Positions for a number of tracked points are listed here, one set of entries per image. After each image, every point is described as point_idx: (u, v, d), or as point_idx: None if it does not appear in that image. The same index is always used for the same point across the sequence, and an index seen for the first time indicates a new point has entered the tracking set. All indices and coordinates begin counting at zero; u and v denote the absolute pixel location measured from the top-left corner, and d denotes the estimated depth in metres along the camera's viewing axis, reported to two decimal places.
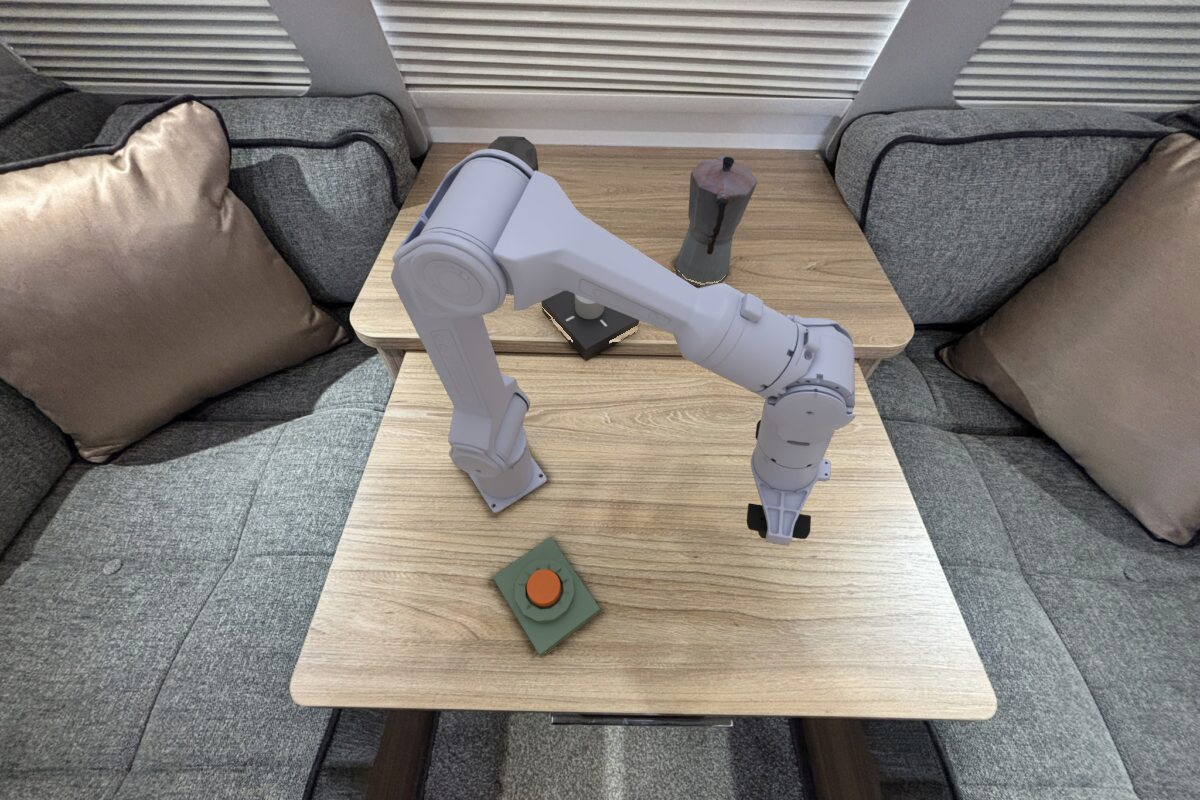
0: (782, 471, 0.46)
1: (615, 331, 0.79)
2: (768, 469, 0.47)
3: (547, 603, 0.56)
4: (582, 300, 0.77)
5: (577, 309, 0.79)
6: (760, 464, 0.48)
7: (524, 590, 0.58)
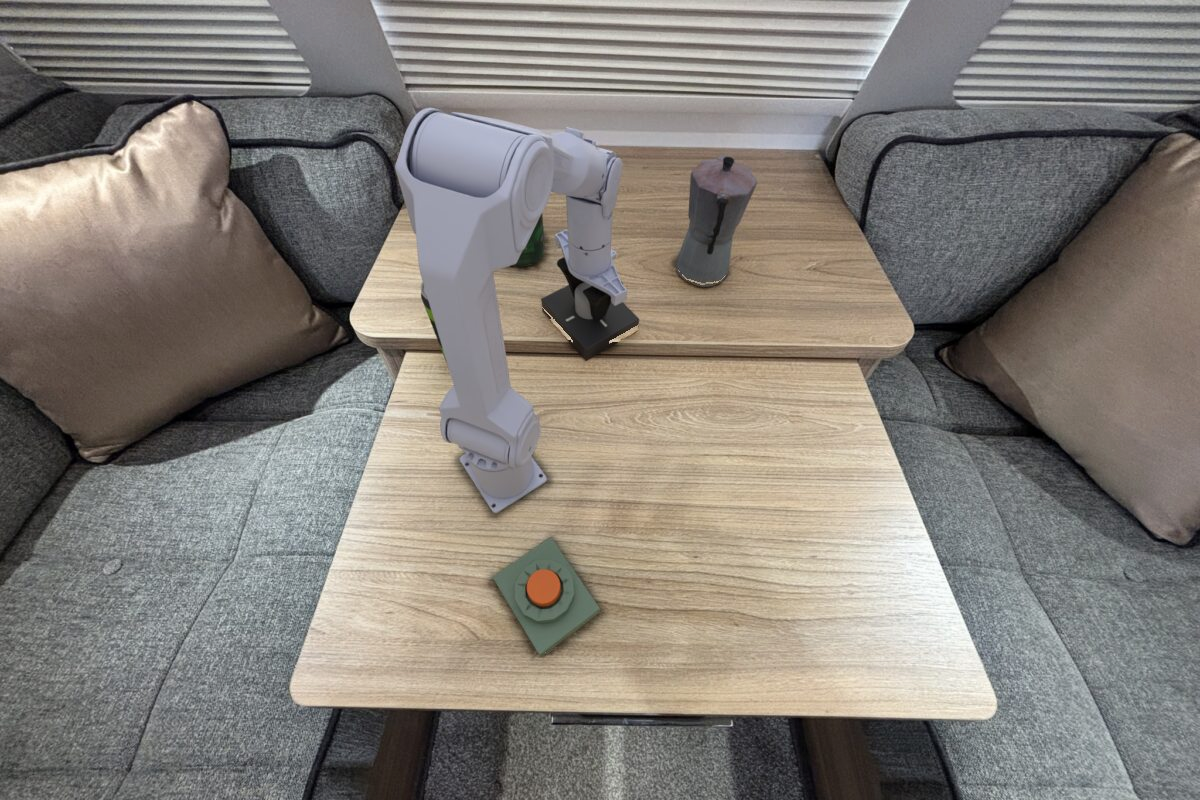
0: (598, 255, 0.69)
1: (615, 331, 0.79)
2: (589, 261, 0.69)
3: (547, 603, 0.56)
4: (582, 300, 0.77)
5: (577, 309, 0.79)
6: (582, 263, 0.70)
7: (524, 590, 0.58)
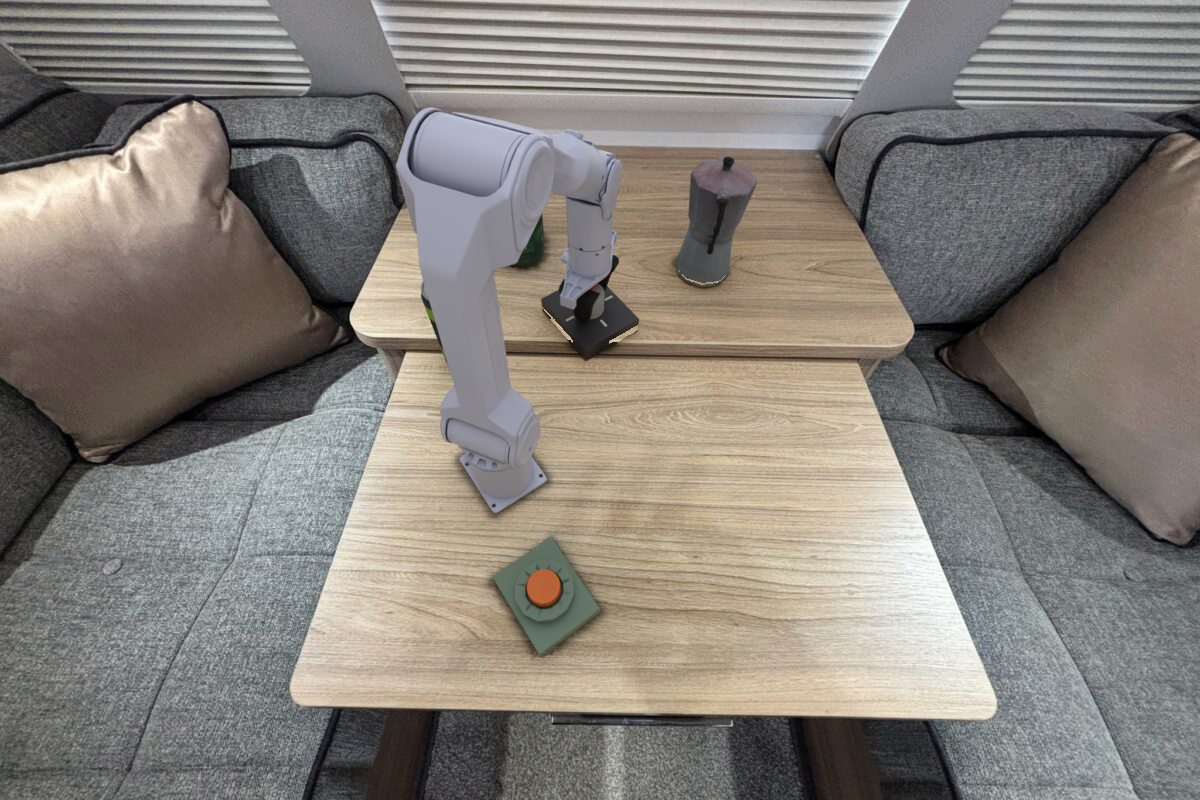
0: None
1: (615, 331, 0.79)
2: None
3: (547, 603, 0.56)
4: (602, 292, 0.78)
5: (602, 308, 0.80)
6: None
7: (524, 590, 0.58)
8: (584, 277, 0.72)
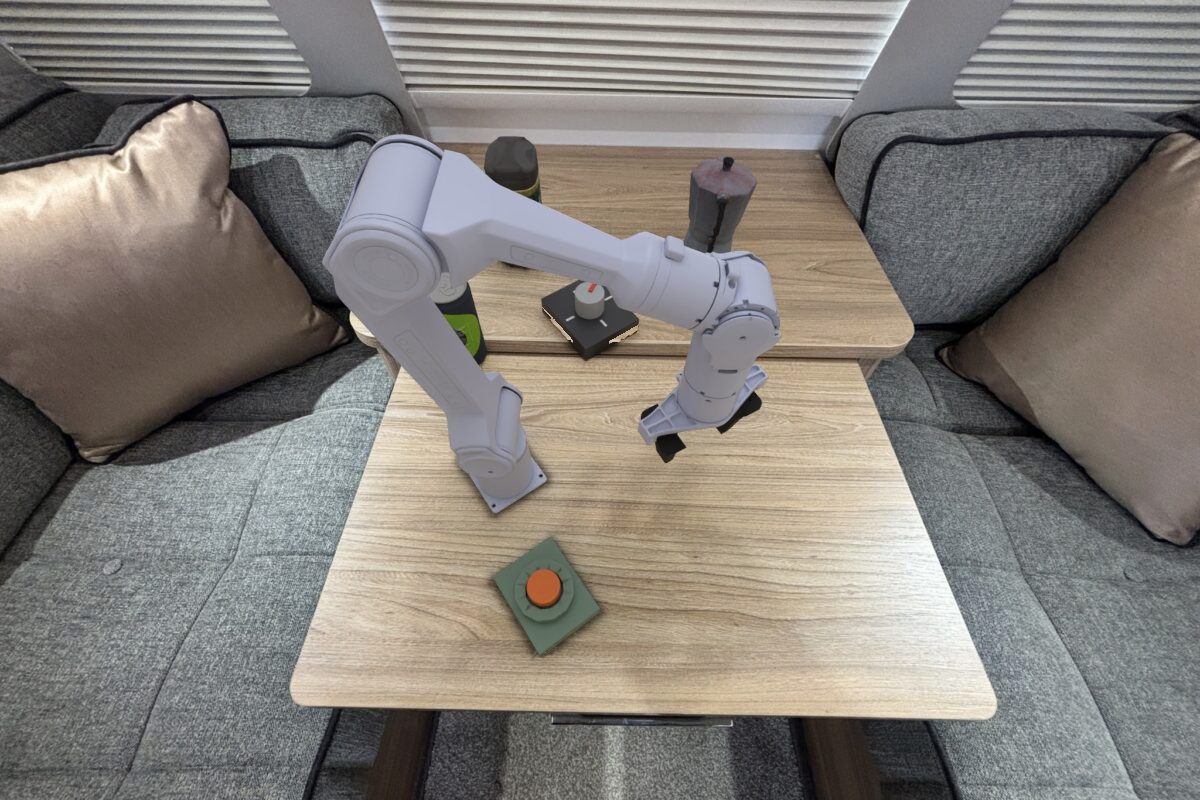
0: None
1: (615, 331, 0.79)
2: None
3: (547, 603, 0.56)
4: (602, 292, 0.78)
5: (602, 308, 0.80)
6: (737, 397, 0.51)
7: (524, 590, 0.58)
8: (685, 414, 0.52)
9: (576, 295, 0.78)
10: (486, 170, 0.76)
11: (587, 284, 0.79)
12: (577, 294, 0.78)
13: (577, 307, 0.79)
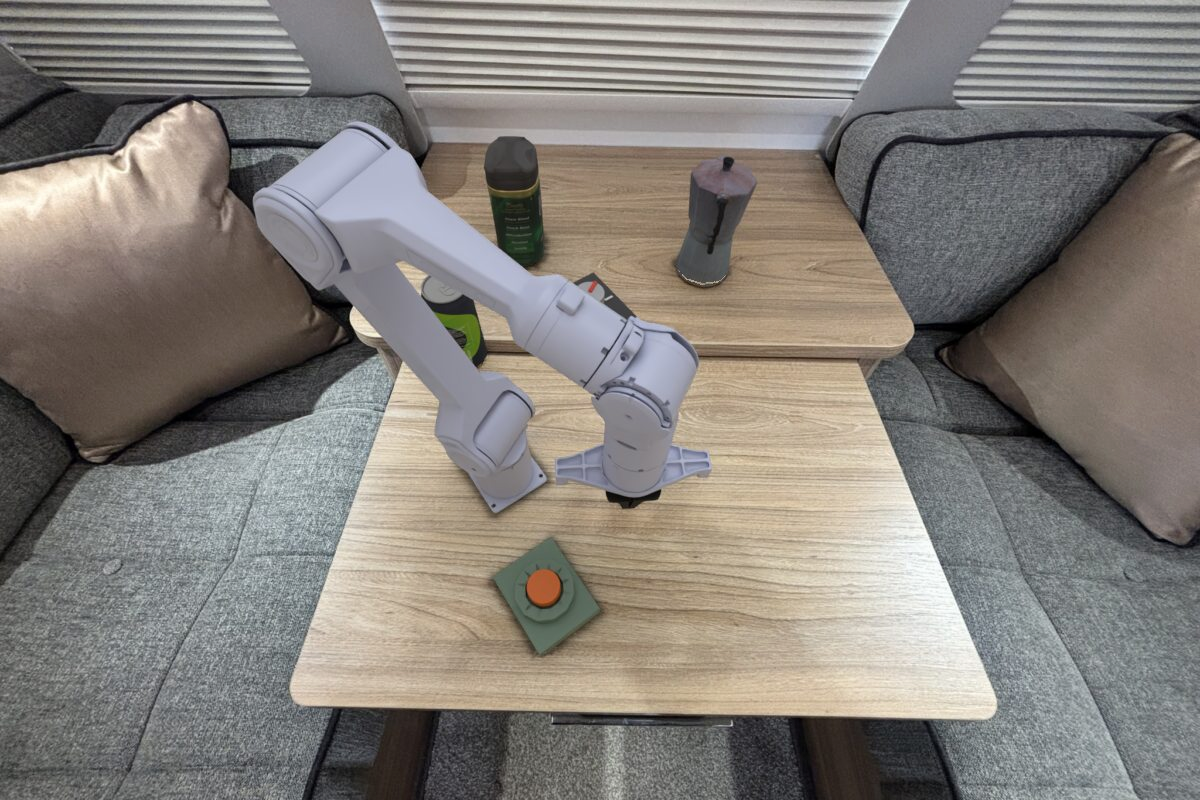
0: None
1: None
2: (663, 466, 0.46)
3: (547, 603, 0.56)
4: (602, 292, 0.78)
5: None
6: (656, 476, 0.46)
7: (524, 590, 0.58)
8: (602, 470, 0.49)
9: None
10: (486, 170, 0.76)
11: (587, 284, 0.79)
12: None
13: None
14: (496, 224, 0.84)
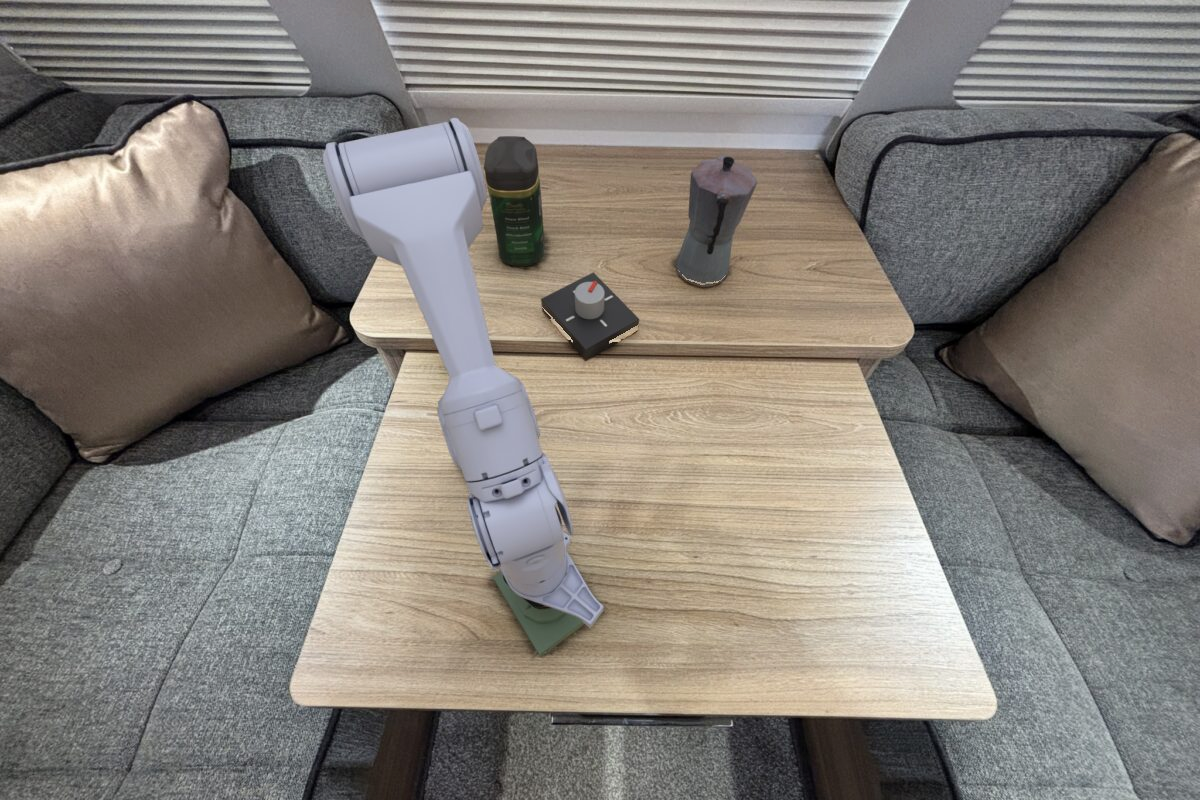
0: (552, 578, 0.46)
1: (615, 331, 0.79)
2: (541, 588, 0.46)
3: None
4: (602, 292, 0.78)
5: (602, 308, 0.80)
6: (530, 590, 0.46)
7: None
8: None
9: (576, 295, 0.78)
10: (486, 170, 0.76)
11: (587, 284, 0.79)
12: (577, 294, 0.78)
13: (577, 307, 0.79)
14: (496, 224, 0.84)
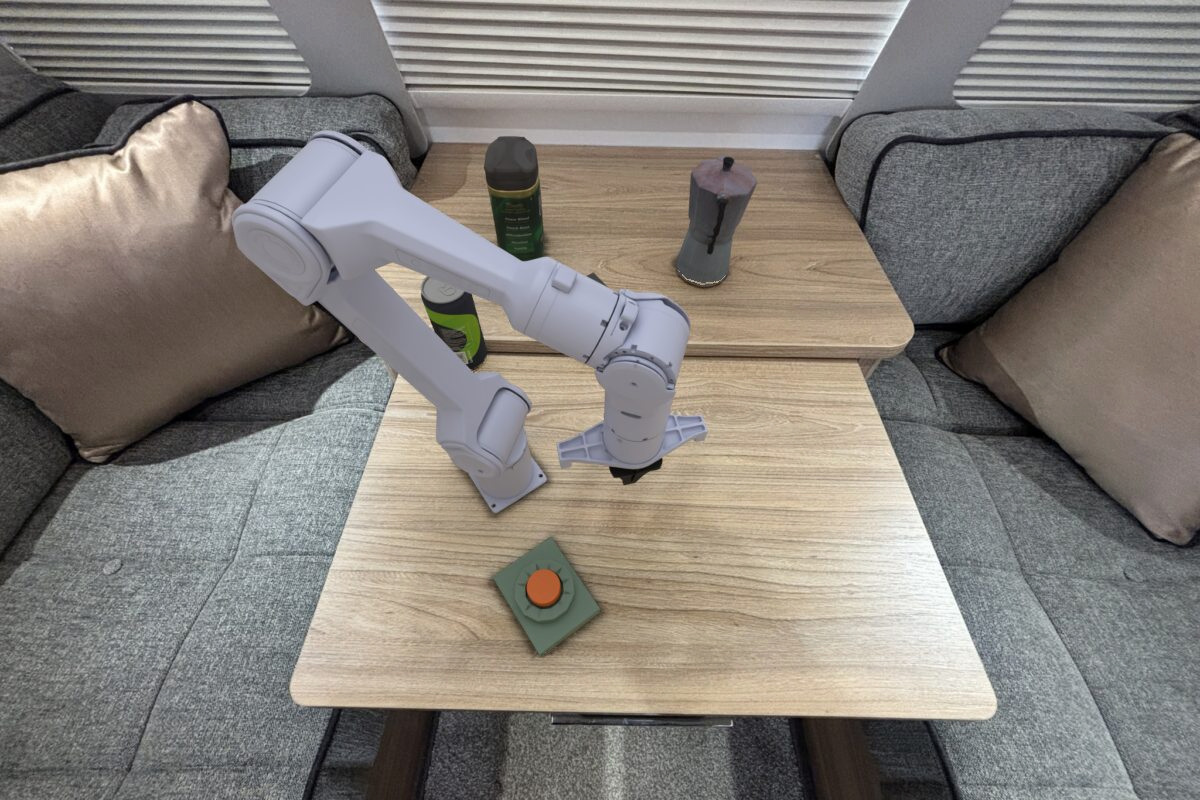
0: None
1: None
2: (664, 433, 0.48)
3: (547, 603, 0.56)
4: None
5: None
6: (658, 444, 0.48)
7: (524, 590, 0.58)
8: (604, 447, 0.50)
9: None
10: (486, 170, 0.76)
11: None
12: None
13: None
14: (496, 224, 0.84)
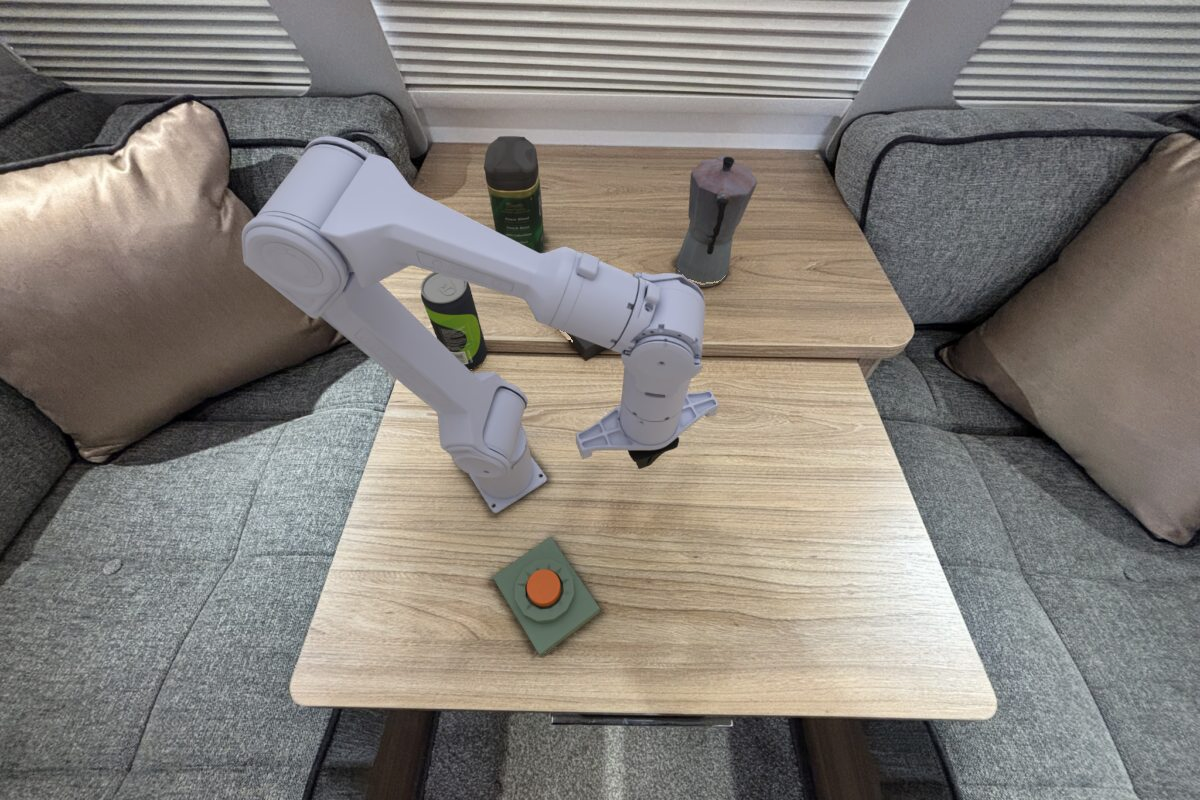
0: None
1: None
2: None
3: (547, 603, 0.56)
4: None
5: None
6: (677, 422, 0.49)
7: (524, 590, 0.58)
8: (623, 432, 0.51)
9: None
10: (486, 170, 0.76)
11: None
12: None
13: None
14: (496, 224, 0.84)
